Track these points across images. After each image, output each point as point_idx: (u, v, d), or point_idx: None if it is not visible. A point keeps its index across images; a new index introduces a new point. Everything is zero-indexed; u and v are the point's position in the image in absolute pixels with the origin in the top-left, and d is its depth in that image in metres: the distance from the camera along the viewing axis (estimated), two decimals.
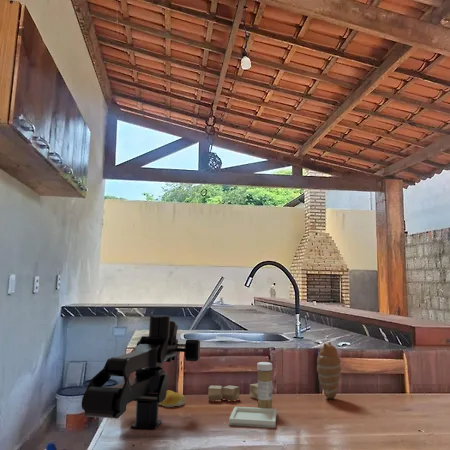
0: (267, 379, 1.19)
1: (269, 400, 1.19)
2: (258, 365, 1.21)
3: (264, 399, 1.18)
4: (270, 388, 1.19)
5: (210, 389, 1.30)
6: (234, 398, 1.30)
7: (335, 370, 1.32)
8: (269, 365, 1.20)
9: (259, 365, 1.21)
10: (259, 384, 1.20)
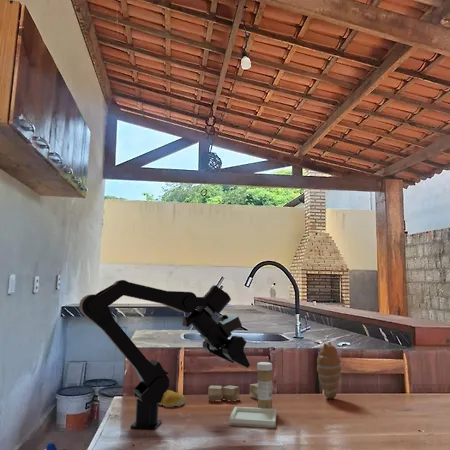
0: (267, 379, 1.19)
1: (269, 400, 1.19)
2: (258, 365, 1.21)
3: (264, 399, 1.18)
4: (270, 388, 1.19)
5: (210, 389, 1.30)
6: (234, 398, 1.30)
7: (335, 370, 1.32)
8: (269, 365, 1.20)
9: (259, 365, 1.21)
10: (259, 384, 1.20)
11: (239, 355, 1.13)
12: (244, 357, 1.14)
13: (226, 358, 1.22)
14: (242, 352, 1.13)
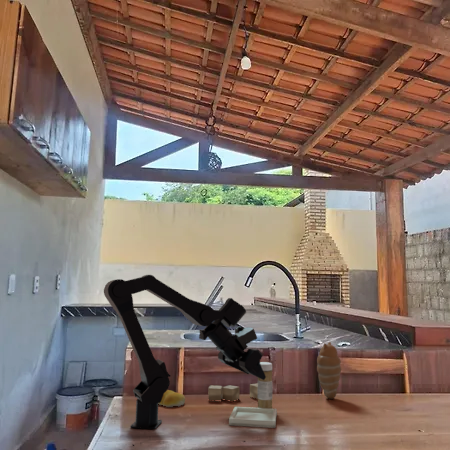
0: (267, 379, 1.19)
1: (269, 400, 1.19)
2: None
3: (264, 399, 1.18)
4: (270, 388, 1.19)
5: (210, 389, 1.30)
6: (234, 398, 1.30)
7: (335, 370, 1.32)
8: (269, 365, 1.20)
9: None
10: (259, 384, 1.20)
11: (255, 367, 1.14)
12: (261, 369, 1.15)
13: (241, 369, 1.24)
14: (258, 364, 1.14)
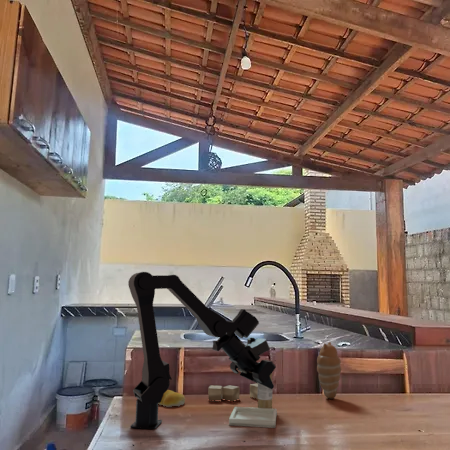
0: None
1: (269, 400, 1.19)
2: None
3: (264, 399, 1.18)
4: None
5: (210, 389, 1.30)
6: (234, 398, 1.30)
7: (335, 370, 1.32)
8: None
9: None
10: (259, 384, 1.20)
11: None
12: (269, 379, 1.18)
13: (257, 381, 1.23)
14: None
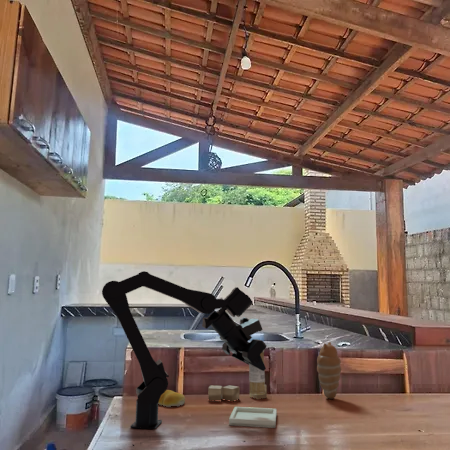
0: None
1: (261, 383, 1.14)
2: None
3: (256, 382, 1.13)
4: None
5: (210, 389, 1.30)
6: (234, 398, 1.30)
7: (335, 370, 1.32)
8: None
9: None
10: (250, 366, 1.15)
11: None
12: (260, 360, 1.14)
13: None
14: (258, 355, 1.13)
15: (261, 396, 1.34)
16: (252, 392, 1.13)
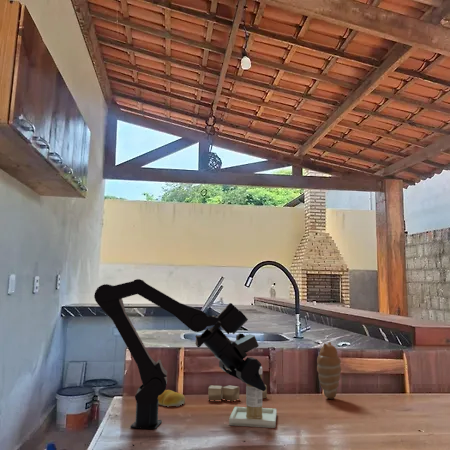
0: None
1: (258, 407, 1.09)
2: None
3: (253, 406, 1.08)
4: (259, 394, 1.09)
5: (210, 389, 1.30)
6: (234, 398, 1.30)
7: (335, 370, 1.32)
8: None
9: None
10: (247, 389, 1.10)
11: (254, 378, 1.07)
12: (260, 380, 1.07)
13: None
14: (257, 375, 1.07)
15: None
16: (248, 417, 1.09)
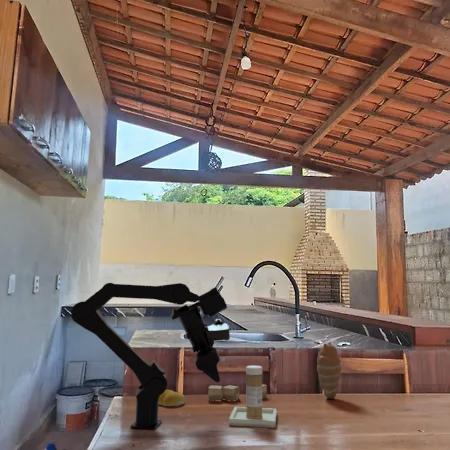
0: (256, 385, 1.09)
1: (258, 407, 1.09)
2: (246, 369, 1.11)
3: (253, 406, 1.08)
4: (259, 394, 1.09)
5: (210, 389, 1.30)
6: (234, 398, 1.30)
7: (335, 370, 1.32)
8: (258, 369, 1.10)
9: (247, 369, 1.11)
10: (247, 389, 1.10)
11: (211, 368, 1.07)
12: (216, 372, 1.08)
13: None
14: (215, 366, 1.07)
15: None
16: (248, 417, 1.09)
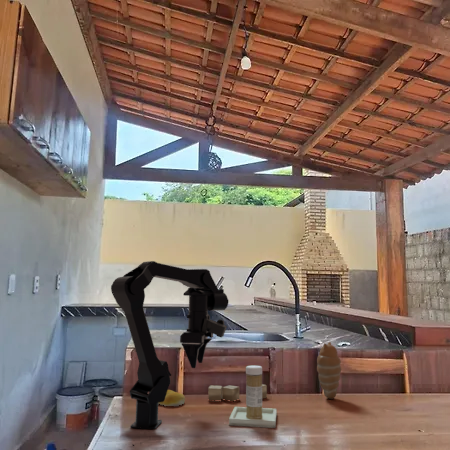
0: (256, 384, 1.09)
1: (258, 407, 1.09)
2: (246, 369, 1.11)
3: (253, 406, 1.08)
4: (259, 394, 1.09)
5: (210, 389, 1.30)
6: (234, 398, 1.30)
7: (335, 370, 1.32)
8: (258, 369, 1.10)
9: (247, 369, 1.11)
10: (247, 389, 1.10)
11: (192, 350, 1.14)
12: (195, 357, 1.14)
13: None
14: (196, 350, 1.14)
15: None
16: (248, 417, 1.09)
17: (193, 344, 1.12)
